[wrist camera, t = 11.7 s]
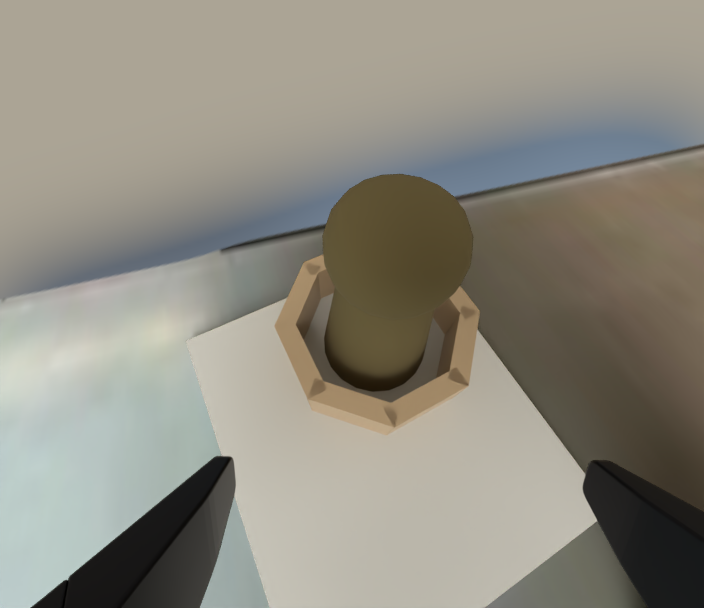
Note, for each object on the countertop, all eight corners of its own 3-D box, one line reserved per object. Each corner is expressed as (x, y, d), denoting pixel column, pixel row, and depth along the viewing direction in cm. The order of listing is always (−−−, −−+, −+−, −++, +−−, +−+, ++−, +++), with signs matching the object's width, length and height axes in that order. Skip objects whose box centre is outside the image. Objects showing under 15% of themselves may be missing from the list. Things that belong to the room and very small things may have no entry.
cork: (436, 316, 21) (517, 175, 11) (407, 408, 18) (479, 329, 9) (346, 284, 22) (350, 128, 12) (306, 367, 19) (269, 254, 10)
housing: (600, 508, 17) (663, 515, 14) (313, 726, 13) (303, 810, 10) (411, 250, 24) (422, 214, 21) (190, 345, 21) (161, 319, 17)
